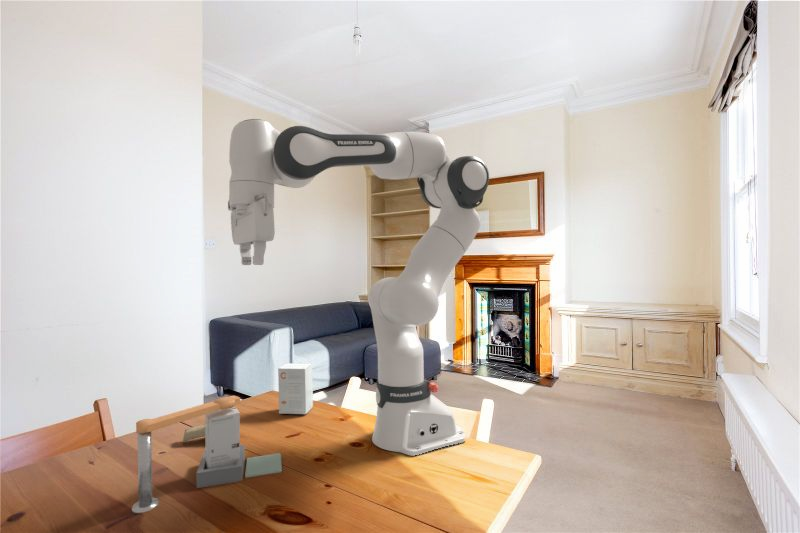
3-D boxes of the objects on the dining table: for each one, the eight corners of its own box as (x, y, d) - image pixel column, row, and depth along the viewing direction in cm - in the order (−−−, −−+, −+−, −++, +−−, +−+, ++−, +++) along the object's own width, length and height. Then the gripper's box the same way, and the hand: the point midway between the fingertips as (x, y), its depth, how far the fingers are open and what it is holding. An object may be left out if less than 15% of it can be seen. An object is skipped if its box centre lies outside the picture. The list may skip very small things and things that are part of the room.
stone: (233, 431, 102) (233, 411, 102) (235, 438, 96) (235, 417, 96) (183, 440, 96) (183, 419, 97) (182, 448, 91) (182, 426, 91)
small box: (313, 406, 119) (312, 363, 119) (305, 414, 112) (305, 368, 112) (287, 406, 120) (286, 362, 120) (278, 413, 113) (277, 368, 113)
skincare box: (207, 481, 78) (207, 419, 78) (204, 471, 82) (203, 412, 82) (241, 471, 81) (240, 412, 81) (236, 462, 85) (235, 405, 85)
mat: (280, 454, 89) (280, 452, 89) (281, 472, 81) (281, 470, 81) (247, 459, 87) (247, 457, 87) (245, 478, 79) (245, 476, 79)
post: (161, 499, 72) (160, 426, 72) (155, 512, 69) (154, 435, 68) (135, 503, 71) (134, 429, 71) (128, 516, 67) (127, 438, 67)
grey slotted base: (244, 458, 87) (244, 444, 87) (241, 481, 78) (241, 466, 78) (204, 464, 85) (204, 450, 85) (196, 489, 75) (196, 473, 75)
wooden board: (231, 400, 85) (231, 392, 85) (242, 404, 83) (242, 396, 83) (131, 430, 70) (131, 421, 70) (141, 435, 68) (141, 426, 68)
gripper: (283, 193, 77) (282, 264, 77) (255, 206, 94) (254, 265, 94) (248, 189, 73) (248, 264, 73) (226, 203, 90) (226, 265, 90)
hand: (252, 265), depth 84 cm, fingers open, 8 cm apart
